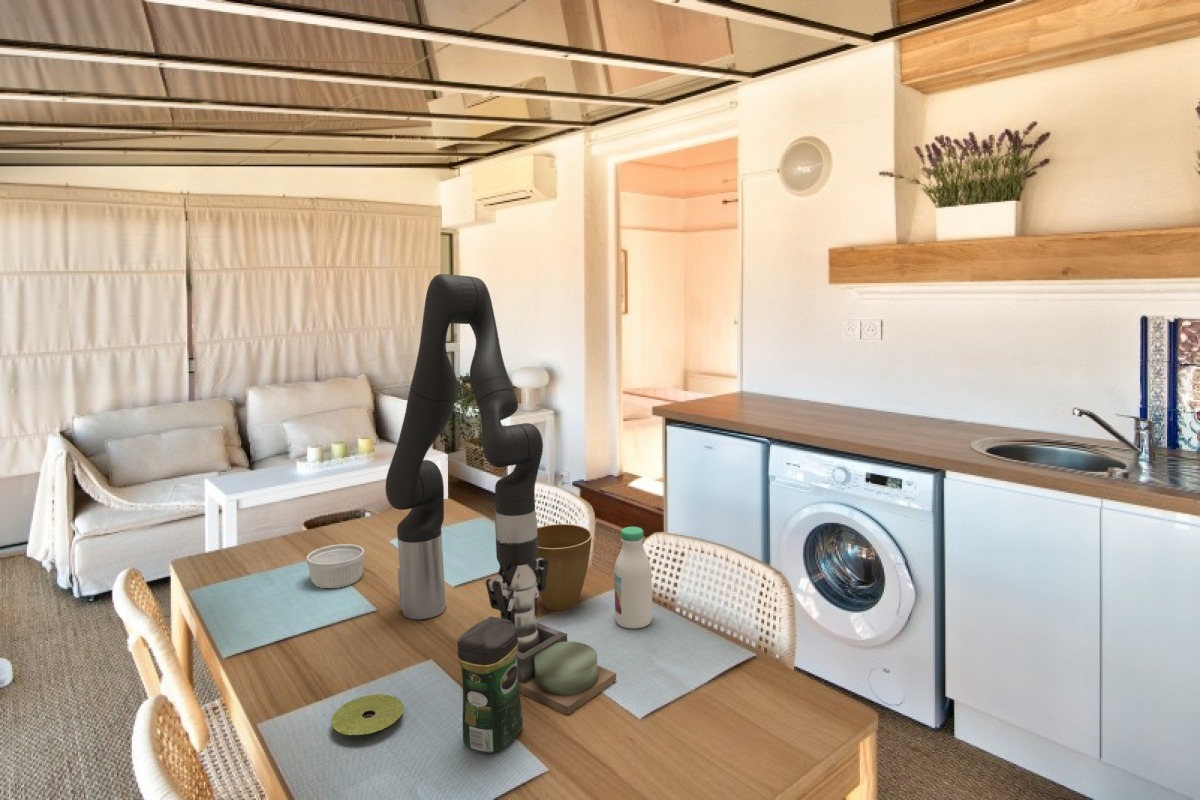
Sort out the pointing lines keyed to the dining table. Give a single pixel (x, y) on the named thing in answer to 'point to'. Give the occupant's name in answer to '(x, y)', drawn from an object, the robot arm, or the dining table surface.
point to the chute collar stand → (561, 672)
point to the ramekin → (336, 565)
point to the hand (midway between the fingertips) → (520, 621)
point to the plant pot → (564, 563)
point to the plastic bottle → (524, 607)
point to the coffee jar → (490, 685)
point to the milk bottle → (633, 581)
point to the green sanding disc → (367, 714)
